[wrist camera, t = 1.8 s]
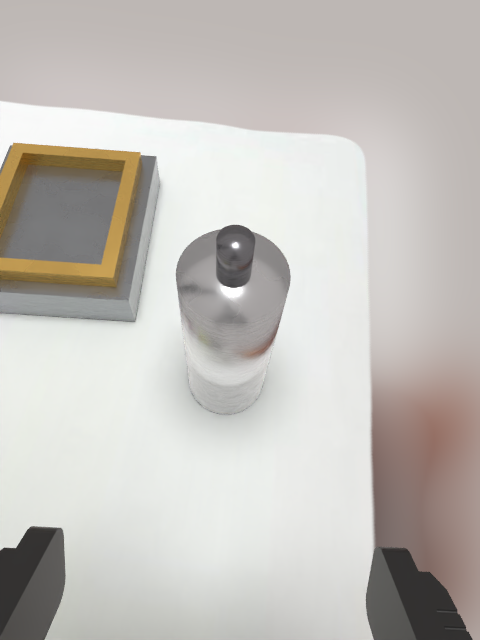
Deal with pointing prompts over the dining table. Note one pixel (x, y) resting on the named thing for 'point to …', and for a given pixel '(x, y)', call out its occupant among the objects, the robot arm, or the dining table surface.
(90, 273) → the grey square tray
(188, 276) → the spout can
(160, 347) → the dining table surface
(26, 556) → the robot arm
